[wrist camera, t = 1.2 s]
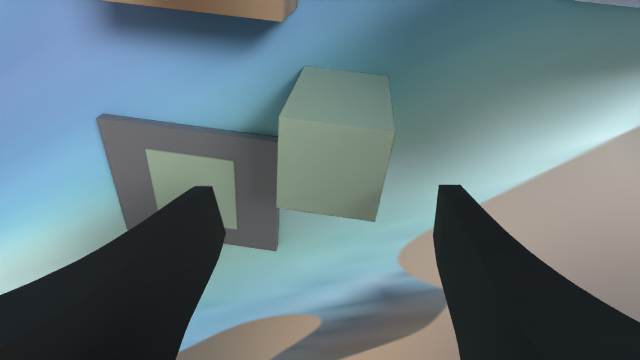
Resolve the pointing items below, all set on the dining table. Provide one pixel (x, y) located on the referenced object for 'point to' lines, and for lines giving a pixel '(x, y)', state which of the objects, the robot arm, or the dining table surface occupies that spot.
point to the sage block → (335, 143)
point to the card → (195, 173)
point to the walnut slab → (227, 7)
